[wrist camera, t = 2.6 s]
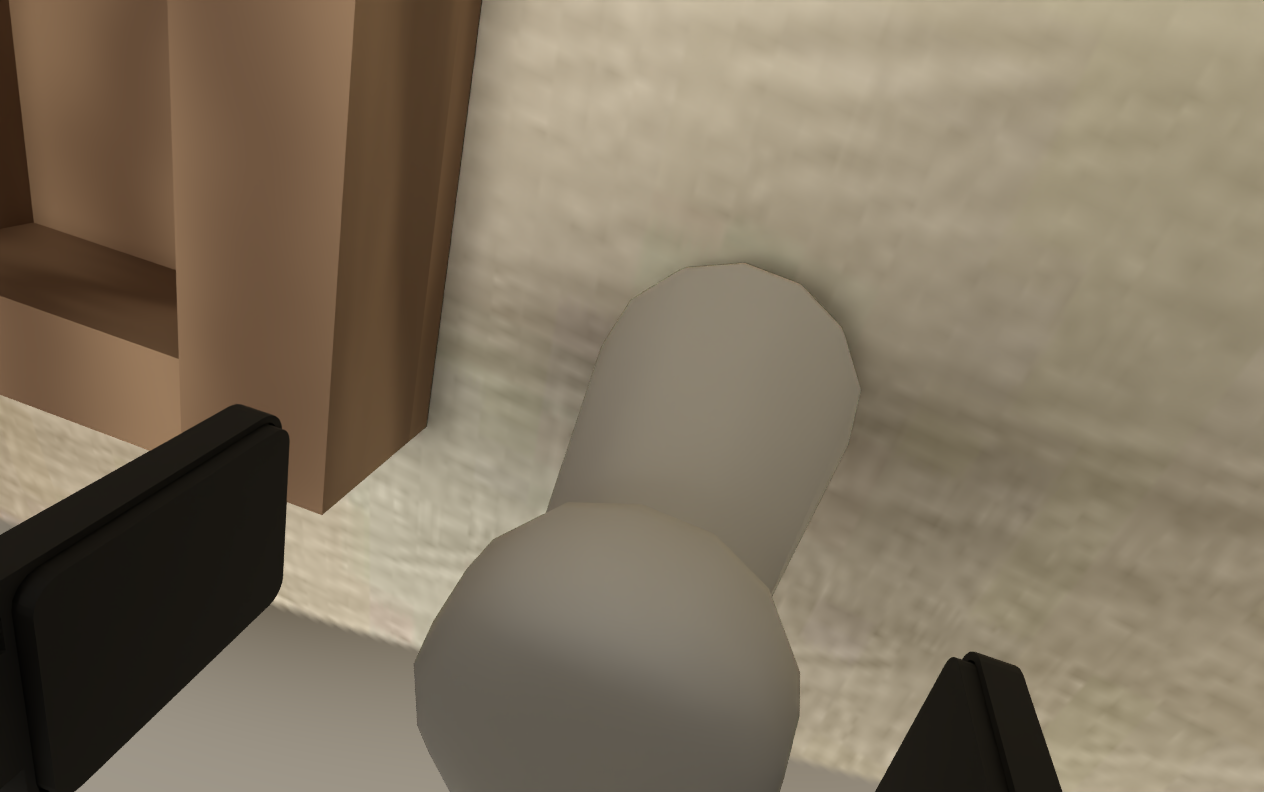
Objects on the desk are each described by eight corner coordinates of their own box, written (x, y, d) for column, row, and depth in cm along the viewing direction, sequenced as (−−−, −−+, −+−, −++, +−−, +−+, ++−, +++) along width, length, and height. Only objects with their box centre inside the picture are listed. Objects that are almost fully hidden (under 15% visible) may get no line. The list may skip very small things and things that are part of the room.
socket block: (498, -134, 16) (368, -210, 12) (426, 426, 23) (321, 514, 18) (-111, -280, 19) (-413, -390, 14) (-27, 268, 25) (-220, 312, 20)
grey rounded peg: (766, 499, 21) (659, 1051, 9) (588, 381, 21) (252, 780, 9) (910, 329, 18) (1014, 799, 6) (704, 192, 18) (440, 417, 6)
